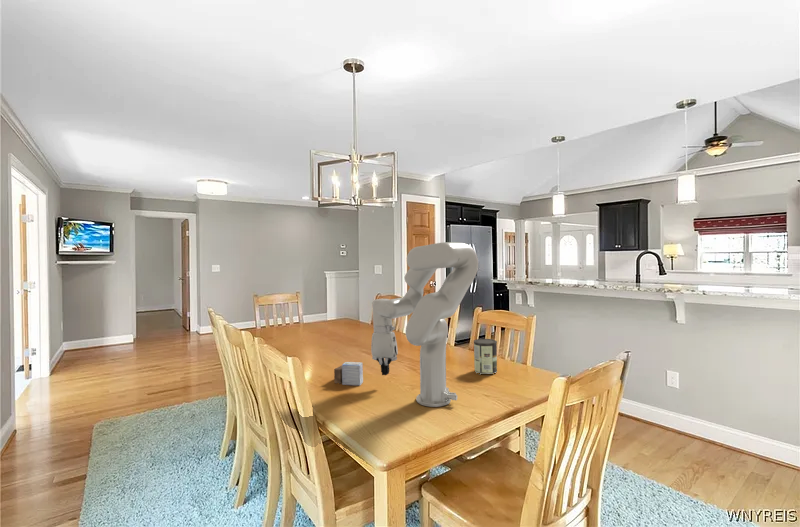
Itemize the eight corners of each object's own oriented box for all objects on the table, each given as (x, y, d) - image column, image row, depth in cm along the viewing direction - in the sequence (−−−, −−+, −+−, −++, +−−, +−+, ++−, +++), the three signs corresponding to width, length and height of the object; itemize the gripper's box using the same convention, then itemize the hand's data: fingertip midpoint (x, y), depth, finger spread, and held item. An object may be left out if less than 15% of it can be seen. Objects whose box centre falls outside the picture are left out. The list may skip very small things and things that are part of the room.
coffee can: (488, 367, 185) (488, 337, 185) (501, 373, 176) (501, 342, 175) (469, 370, 181) (469, 339, 181) (482, 376, 172) (481, 344, 171)
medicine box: (363, 382, 166) (362, 362, 166) (360, 386, 162) (359, 365, 162) (345, 381, 168) (345, 361, 168) (342, 385, 164) (341, 364, 163)
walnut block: (355, 375, 176) (355, 362, 176) (340, 383, 165) (340, 369, 165) (349, 374, 177) (349, 361, 177) (334, 383, 166) (334, 369, 166)
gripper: (403, 328, 160) (405, 373, 160) (371, 327, 166) (373, 370, 166) (395, 331, 153) (398, 378, 153) (362, 330, 159) (364, 375, 159)
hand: (385, 374), depth 159 cm, fingers closed
